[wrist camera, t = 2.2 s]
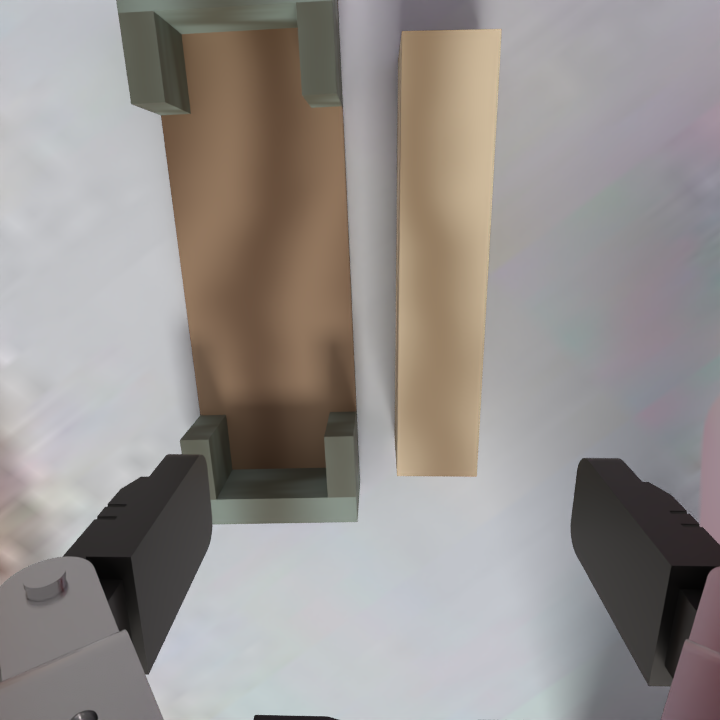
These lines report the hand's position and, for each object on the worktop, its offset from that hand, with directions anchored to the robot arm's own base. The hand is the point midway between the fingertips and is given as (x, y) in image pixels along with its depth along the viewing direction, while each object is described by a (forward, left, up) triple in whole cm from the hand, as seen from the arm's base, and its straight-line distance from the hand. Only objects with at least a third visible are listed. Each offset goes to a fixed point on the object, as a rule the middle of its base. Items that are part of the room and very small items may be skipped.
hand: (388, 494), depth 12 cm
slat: (-3, -2, -20) cm, 20 cm away
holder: (+6, -2, -19) cm, 20 cm away
